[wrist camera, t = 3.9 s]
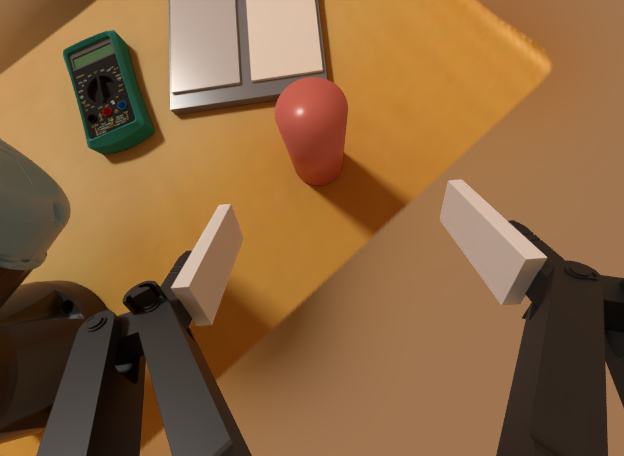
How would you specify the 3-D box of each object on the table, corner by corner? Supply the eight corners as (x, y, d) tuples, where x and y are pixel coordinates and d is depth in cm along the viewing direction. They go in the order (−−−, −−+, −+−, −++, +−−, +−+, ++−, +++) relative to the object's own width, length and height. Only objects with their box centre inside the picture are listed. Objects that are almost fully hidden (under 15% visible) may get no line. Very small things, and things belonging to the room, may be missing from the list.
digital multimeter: (106, 161, 32) (83, 150, 29) (79, 64, 34) (55, 46, 31) (159, 138, 31) (142, 126, 28) (128, 43, 34) (109, 22, 31)
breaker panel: (175, 114, 31) (161, 101, 28) (173, -16, 34) (160, -38, 31) (328, 92, 30) (327, 76, 27) (312, -41, 32) (311, -67, 30)
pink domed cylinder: (296, 188, 28) (277, 149, 19) (292, 143, 29) (272, 82, 19) (345, 182, 28) (351, 139, 18) (339, 137, 29) (343, 72, 19)
